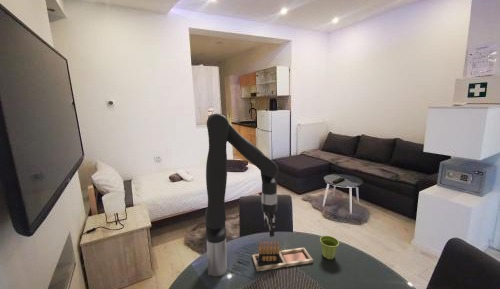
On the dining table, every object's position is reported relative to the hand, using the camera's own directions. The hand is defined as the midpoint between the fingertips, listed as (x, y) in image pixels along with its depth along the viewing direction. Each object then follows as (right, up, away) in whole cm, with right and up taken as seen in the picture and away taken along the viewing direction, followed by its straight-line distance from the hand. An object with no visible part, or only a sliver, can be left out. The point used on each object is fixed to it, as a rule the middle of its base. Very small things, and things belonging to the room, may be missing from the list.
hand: (269, 231), depth 115 cm
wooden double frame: (+7, -16, +5) cm, 18 cm away
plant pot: (+32, -16, +8) cm, 36 cm away
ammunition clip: (0, -17, +3) cm, 17 cm away
